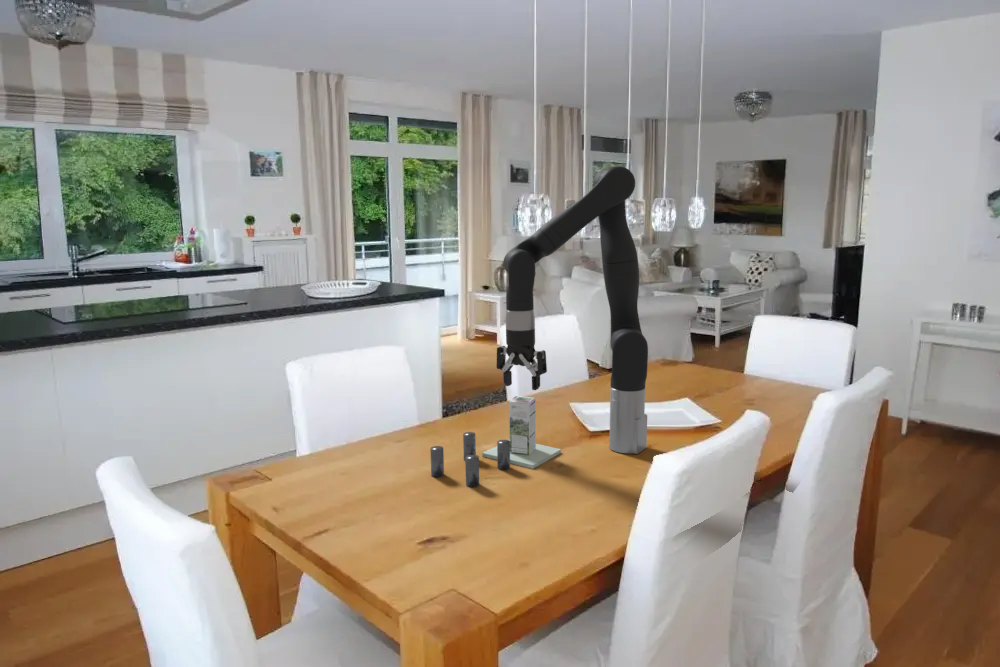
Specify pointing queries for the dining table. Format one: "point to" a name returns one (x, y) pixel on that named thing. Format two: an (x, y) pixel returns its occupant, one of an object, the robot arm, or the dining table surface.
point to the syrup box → (522, 425)
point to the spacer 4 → (503, 454)
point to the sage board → (527, 456)
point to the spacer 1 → (437, 461)
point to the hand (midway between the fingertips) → (521, 387)
